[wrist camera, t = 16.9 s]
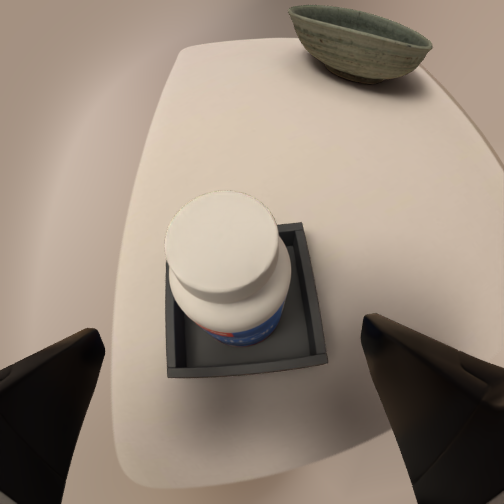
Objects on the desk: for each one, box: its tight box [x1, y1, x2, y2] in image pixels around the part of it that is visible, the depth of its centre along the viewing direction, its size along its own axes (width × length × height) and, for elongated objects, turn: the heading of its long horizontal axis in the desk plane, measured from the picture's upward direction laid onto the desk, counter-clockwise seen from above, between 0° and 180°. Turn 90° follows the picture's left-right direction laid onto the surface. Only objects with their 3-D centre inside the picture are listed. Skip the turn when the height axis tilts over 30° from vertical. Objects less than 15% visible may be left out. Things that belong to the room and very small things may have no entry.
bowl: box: [288, 5, 432, 84], centre depth 28 cm, size 21×21×10 cm
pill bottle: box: [164, 191, 291, 347], centre depth 13 cm, size 6×5×10 cm
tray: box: [165, 222, 328, 378], centre depth 17 cm, size 9×9×3 cm
